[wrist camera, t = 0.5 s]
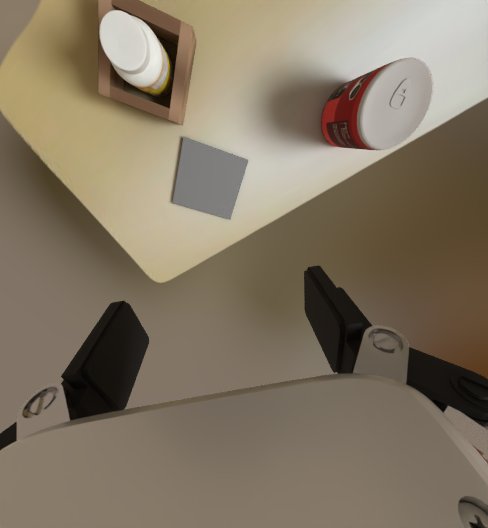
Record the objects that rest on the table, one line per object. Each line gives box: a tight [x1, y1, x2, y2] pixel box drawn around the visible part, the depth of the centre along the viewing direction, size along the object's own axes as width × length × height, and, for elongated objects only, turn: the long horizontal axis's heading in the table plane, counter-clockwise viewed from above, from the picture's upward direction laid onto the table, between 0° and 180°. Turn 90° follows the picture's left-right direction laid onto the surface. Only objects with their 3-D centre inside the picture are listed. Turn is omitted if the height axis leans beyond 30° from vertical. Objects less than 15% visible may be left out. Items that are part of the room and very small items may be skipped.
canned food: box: [321, 58, 433, 150], centre depth 27 cm, size 8×8×11 cm
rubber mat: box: [173, 137, 248, 220], centre depth 35 cm, size 10×10×1 cm
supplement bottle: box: [99, 10, 174, 96], centre depth 23 cm, size 5×5×10 cm
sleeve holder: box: [98, 0, 196, 125], centre depth 26 cm, size 9×9×4 cm
